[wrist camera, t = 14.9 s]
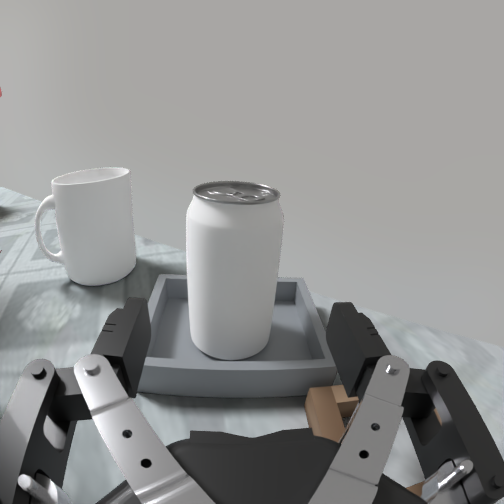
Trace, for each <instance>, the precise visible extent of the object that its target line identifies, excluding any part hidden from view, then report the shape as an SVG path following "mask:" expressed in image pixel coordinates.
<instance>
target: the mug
mask: <svg viewBox="0 0 504 504" xmlns="http://www.w3.org/2000/svg"><path fill="white" fill-rule="evenodd" d="M51 184H52V191H53V195H50V196H48V197H46V199H45V200H44V201H43V202H42V203H41V204H40V206H39V208H38V210H37V212H36V217H35V233H36V239H37V242H38V245H39V248H40V250H41V251H42V253H43V254H44V256H45V257H46V258H48V259H49V260H50V261H52V262H57V263H60V264H63V265H65V269H66V272H67V275H68V277H69V278H70V279H71V280H73V281H74V282H76V283H79V284H81V285H86V286H101V285H106V284H110V283H113V282H116V281H118V280H120V279H122V278H124V277H125V276H127V275H128V274H129V273H130V272H131V271H132V270H133V268H134V267H135V265H136V247H135V236H134V225H133V210H132V192H131V171H130V170H129V169H126V168H119V167H110V168H109V167H108V168H95V169H87V170H81V171H77V172H72V173H68V174H65V175H62V176H59V177H57V178H55V179H53V180H52V182H51ZM53 209H55V217H56V224H57V230H58V236H59V242H60V247H61V251H60V252H59V253H58V254H52V253H51V252H49V251H48V249H47V248H46V246H45V244H44V242H43V239H42V235H41V219H42V215H43V213H44V212H45V211H46V210H53Z"/></svg>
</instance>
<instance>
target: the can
mask: <svg viewBox="0 0 504 504" xmlns="http://www.w3.org/2000/svg"><path fill="white" fill-rule="evenodd" d="M193 194H194V197H193V200H192V202H191V204H190V206H189V208H188V210H187V215H186V255H187V285H188V305H189V321H190V333H191V338H192V341H193V343H194V344H195V345H196V347H197V348H198V349H200V350H201V351H202V352H204V353H205V354H207V355H209V356H211V357H213V358H216V359H220V360H226V361H237V360H243V359H246V358H249V357H251V356H253V355H255V354H257V353H259V352H260V351H261V350H262V349H263V348H264V347H265V346H266V345H267V343H268V340H269V336H270V330H271V323H272V316H273V309H274V301H275V294H276V286H277V278H278V270H279V262H280V253H281V245H282V236H283V225H284V216H283V212H282V209H281V207H280V204H279V197H280V193H279V191H277V190H276V189H274V188H271V187H269V186H265V185H261V184H256V183H250V182H239V181H218V182H209V183H204V184H200V185H198V186H196V187H195V188H194V189H193Z"/></svg>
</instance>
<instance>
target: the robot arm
mask: <svg viewBox="0 0 504 504" xmlns="http://www.w3.org/2000/svg"><path fill="white" fill-rule="evenodd" d="M150 341H151V324H150V317H149V310H148V304H147V300H146V299H145V298H128V300H127V302H126V304H125V306H124V308H123V309H120V308H117V309H116V310H115V311H113V312H112V313H111V314H110V315H109V316H108V318H107V320H106V323H105V325H104V327H103V329H102V332H101V333H100V335H99V337H98V339H97V341H96V343H95V345H94V348H93V350H92V352H91V354H90V355H87V356H84V357H82V358H81V359H79V360H78V361H77V362H76V364H75V366H74V367H71V368H61V369H55V368H54V365H53V364H52V363H51V362H50V361H49V360H46V359H37V360H34V361H32V362H30V363H29V364H28V365H27V366H26V367H25V369H24V371H23V373H22V375H21V377H20V379H19V381H18V383H17V385H16V387H15V389H14V391H13V394H12V396H11V398H10V400H9V402H8V405H7V407H6V409H5V412H4V414H3V417H2V419H1V421H0V504H71V501H70V498H69V496H68V495H67V494H66V493H65V492H64V491H63V490H62V486H63V480H64V475H65V470H66V465H67V461H68V456H69V452H70V447H71V443H72V439H73V435H74V431H75V427H76V424H77V420H89V419H93V420H94V422H95V424H96V426H97V428H98V430H99V432H100V434H101V436H102V438H103V440H104V442H105V444H106V446H107V447H108V449H109V451H110V453H111V455H112V457H113V458H114V460H115V462H116V463H117V465H118V467H119V469H120V470H121V472H122V474H123V475H124V477H125V478H126V480H125V481H123V482H122V483H121V484H120V485H119V486H117V487H116V488H115V489H114V490H112V491H111V492H110V493H109V494H107V495H106V496H105V497H104V498H102V499H101V500H100V501H98V502H97V503H96V504H494V503H495V502H497V501H498V500H500V499H501V498H502V497H504V461H503V459H502V456H501V454H500V452H499V450H498V448H497V446H496V444H495V442H494V440H493V438H492V436H491V434H490V432H489V430H488V428H487V426H486V425H485V423H484V421H483V419H482V417H481V415H480V414H479V412H478V410H477V408H476V406H475V405H474V403H473V401H472V399H471V398H470V396H469V394H468V392H467V391H466V389H465V387H464V386H463V384H462V382H461V381H460V379H459V378H458V376H457V374H456V373H455V371H454V369H453V368H452V367H451V366H450V365H449V364H447V363H445V362H442V361H432V362H431V363H429V365H428V366H427V368H426V370H422V369H413V368H409V366H408V364H407V363H406V362H405V361H404V360H403V359H401V358H399V357H397V356H393V355H391V354H390V352H389V350H388V349H387V347H386V345H385V343H384V342H383V340H382V338H381V337H380V335H378V332H377V330H376V329H375V327H374V325H373V324H372V322H371V320H370V319H369V318H368V317H366V316H365V315H364V314H363V313H358V312H357V310H356V309H355V307H354V305H353V304H352V303H351V302H336V303H334V304H333V307H332V310H331V314H330V318H329V322H328V326H327V330H326V341H327V345H328V347H329V350H330V352H331V355H332V357H333V360H334V363H335V365H336V368H337V370H338V373H339V375H340V378H341V381H342V383H343V386H344V389H345V391H346V394H347V397H348V398H351V397H358V399H359V402H358V404H357V406H356V408H355V410H354V412H353V414H352V416H351V418H350V420H349V422H348V424H347V426H346V428H345V430H344V432H343V434H342V436H341V438H340V440H339V442H338V443H337V442H336V441H333V440H331V439H328V438H325V437H320V436H314V435H313V431H312V428H303V429H291V430H282V431H278V432H275V433H271V434H267V435H264V436H260V437H256V438H249V437H243V436H238V435H233V434H229V433H224V432H211V431H190V439H184V440H180V441H177V442H174V443H172V444H170V445H168V446H166V447H165V445H164V444H163V443H162V441H161V440H160V439H159V437H158V436H157V434H156V433H155V432H154V430H153V429H152V427H151V426H150V424H149V423H148V422H147V420H146V419H145V417H144V416H143V414H142V413H141V411H140V409H139V408H138V406H137V405H136V403H135V402H134V400H133V399H132V398H136V394H137V390H138V386H139V382H140V378H141V374H142V370H143V366H144V363H145V359H146V355H147V352H148V348H149V344H150ZM435 408H436V409H437V411H438V413H439V415H440V418H441V421H442V426H441V424H440V422H439V420H438V418H437V416H436V414H435V411H434V409H435ZM401 417H403V420H404V423H405V425H406V428H407V430H408V433H409V435H410V438H411V441H412V443H413V446H414V449H415V451H416V454H417V457H418V459H419V462H420V465H421V468H422V471H423V474H424V476H425V479H426V481H425V482H424V484H423V487H422V495H421V497H419V496H418V495H416V494H414V493H413V492H411V491H410V490H408V489H406V488H405V487H403V486H401V485H400V484H398V483H397V482H395V481H394V480H392V479H390V478H389V477H387V476H386V475H384V474H383V473H382V472H383V470H384V467H385V465H386V462H387V459H388V457H389V454H390V451H391V448H392V445H393V442H394V439H395V436H396V433H397V430H398V427H399V424H400V421H401Z"/></svg>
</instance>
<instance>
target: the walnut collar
mask: <svg viewBox="0 0 504 504" xmlns="http://www.w3.org/2000/svg"><path fill="white" fill-rule="evenodd" d="M358 402H359V399H358V397H351V398H348V397H347V394H346V391H345V389H344V386H343V385H336V386H326V387H314V388H309V391H308V394H307V397H306V400H305V403H304V407H305V412H306V416H307V420H308V424H309V428H312V431H313V435H314V436H320V437H325V438H328V439H331V440H333V441H336V442H337V443H338V442H339V440H340V438H341V436H342V434H343V432H344V430H345V427H344V424H343V421H342V418H344V417H350V416H352V414H353V412H354V410H355V408H356V406H357V404H358ZM434 411H435V414H436V416H437V418H438V420H439V422H440V424H441V426H442V421H441V418H440V415H439V413H438V411H437V409H436V408H435V409H434ZM424 482H425V481H423V482H420V483H418V484H415V485H413V486H410V487H407V488H406V489H408V490H410V491H411V492H413V493H414V494H416V495H418V496H419V497H421V495H422V487H423V484H424Z"/></svg>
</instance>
